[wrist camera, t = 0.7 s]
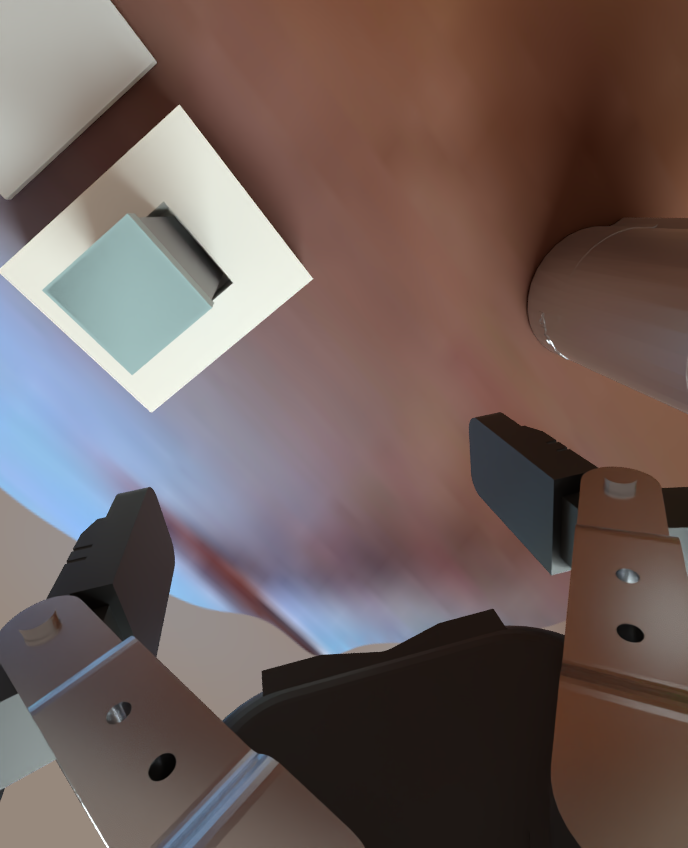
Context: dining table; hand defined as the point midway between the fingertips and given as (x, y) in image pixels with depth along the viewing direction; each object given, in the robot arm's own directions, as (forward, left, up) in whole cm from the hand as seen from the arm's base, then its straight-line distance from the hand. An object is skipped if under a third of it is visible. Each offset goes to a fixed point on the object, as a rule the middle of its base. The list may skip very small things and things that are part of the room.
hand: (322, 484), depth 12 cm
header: (+3, -6, -22) cm, 23 cm away
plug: (+3, -6, -21) cm, 22 cm away
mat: (+2, -18, -22) cm, 29 cm away
